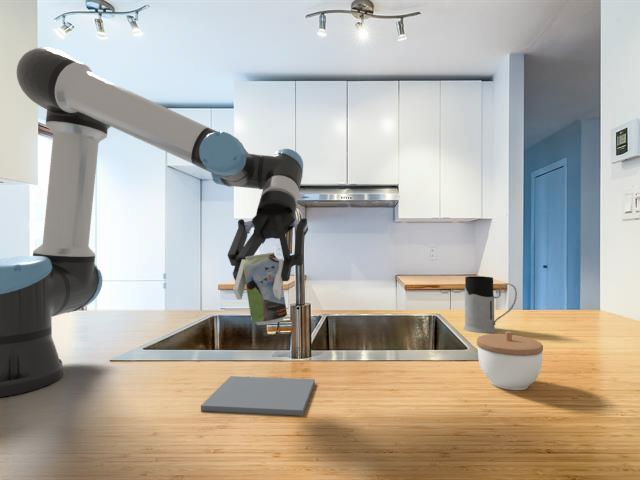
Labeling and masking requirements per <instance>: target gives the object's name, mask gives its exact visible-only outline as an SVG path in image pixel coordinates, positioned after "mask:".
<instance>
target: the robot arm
mask: <svg viewBox="0 0 640 480" xmlns="http://www.w3.org/2000/svg"><path fill="white" fill-rule="evenodd" d="M16 79H17V83H18V85H19V86H20V89H21V91H23V93H24V94H25V95H26V97H27V98H28V99H30V100H31V101H32V102H33V103H35V104H36V105H38V107H39V106H40V107H41V108H43V109H45V110H46V118H45V126H46V127H47V129H48V130H49V131H51V133H52V134H53V136H52V143H51V144H52V145H51V155H50V164H49V176H48V185H47V194H46V206H45V207H46V208H45V217H44V228H43V237H42V243H41V245H40V246H38V247H37V248H35V249H33V252H32V255H27V256H14V257H4V258H0V398H1V397H2V398H3V397H9V396H14V395H19V394H23V393H24V394H25V393H27V392H28V393H29V392H31V391H35V390H37V389H41V388H44V387H47V386H49V385H51V384H53V383H55V382H58V381H59V380H60V379H62V377H63V376H64V373H63V372H64V369H63V368H64V367H63V364H64V363H63V361H62V360H61V359H60V358H59V354H58V351H57V347H56V345H55V342H54V339H53V334H52V331H53V330H52V329H53V328H52V327H53V326H52V325H53V323H52V319H53V317H56V316H59V315H63V314H68V313H72V312H76V311H79V310H80V309H82V308H85V307H86V306H88V305H90V304H92V302H94V301H95V299H96V298H98V296H99V294H100V292H101V290H102V287H103V275H102V272H101V269H99V268H98V266H97V265H96V252H94V251H93V250H92V249H91V248H90V247H89V243H90V235H91V233H90V232H91V224H92V223H91V222H92V212H93V202H94V194H95V193H94V192H95V182H96V172H97V161H98V152H99V143H100V142H101V141H103V140H104V139H106V138H107V137H108V129H110V128H114V129H116V130H118V131H120V132H123V133H124V134H127V135H129V136H131V137H134V139H138V140H139V141H142V142H144V143H146V144H149V145H151V146H153V147H156V148H157V149H159V150H161V151H164V152H166V153H168V154H171V155H173V156H175V157H177V158H180V159H182V160H184V161H186V162H189V163H191V164H192V165H194V166H196V167H199V168H200V169H202V170H205V171H206V172H209V173H210V174H211V178H212V181H213V182H214V183H215V184H216V185H222V186H226V187H228V188H229V187H237V188H246V189H247V188H248V189H257V190H262V192H261V194H260V199H259V202H258V206H257V208H256V213H255V216H253V218H252V219H251V220H249V221H245V220H244V219H242V218H241V219H239V220H238V221H237V230H236V233H235V235H234V237H233V240H232V242H231V245H230V248H229V250H228V253H227V258H228V260H229V263H230V265H231V266H232V267H233V266H234V269H233V271H232V277H233V279H234V285H233V289H232V291H233V293H234V295H235V298H236V299H237V300H242V299H243V295H244V292H245V289H246V281H245V275H244V268H243V265H244V262H245V260H246V258H245V257H248V256H254V255H256V253H257V252H258V250H259V248H260V247H261V245H264V243H265V242H266V241H267V240H269V239H275V240H276V239H279V242H280V247H281V248H280V249H281V251H282V252H281V253H282V256H283V257H282V258H280V259H279V258H278V260H279V268H278V271H277V274H276V276H275V280H274V285H273V293H274V296H275V297H276V298H278V299H279V300H280V297H281V288H282V286H283V287H284V282H288V281H290V278H291V271H292V268H293V267H294V266H298V267H299V266H302V265H303V263H304V252H305V250H304V249H305V238H306V237H305V236H306V234H307V233H308V231H309V226H308V219H307V218H305V217H304V218H301V219H300V220H298V219H296V218H295V217H296V210H297V205H298V204H297V203H298V199H299V194H300V189H301V184H302V179H303V175H304V174H303V173H304V162H303V159H302V156H301V155H300V154H299V153H298V152H297V151H295V150H294V149H290V148H281V149H279V150H276V151H275V152H274V153H273V155H263V154H262V155H261V154H254V153H249V152H248V151H247V150H246V149H245V147H244V145H243V142H241V141H240V140H239V139H238V137H236V136H233V135H232V134H231V133H228V132H225V131H218V130H215V129H212V128H211V127H209V126H206V125H204V124H202V123H200V122H198V121H195V120H193V119H191V118H189V117H187V116H185V115H182V114H180V113H178V112H176V111H173V110H172V109H169V108H167V107H165V106H163V105H160V104H158V103H157V102H154V101H152V100H150V99H147V98H145V97H144V96H141V95H139V94H138V93H134V92H132V91H130V90H128V89H126V88H123V87H122V86H119V85H117V84H115V83H114V82H111V81H109V80H106V79H104V78H102V77H100V76H98V75H97V74H95V73H93V71H92V70H91V68H90V67H89V66H88V65H86V64H85V63H83V62H80V61H79V60H76V59H74V58H73V57H72V56H70V55H68V54H66V53H65V52H63V51H62V50H59V49H55V48H52V47H35V48H33V49H30V50H28V51H27V52H25V53H24V54H23V55H22V56H21V57H20V59H19V61H18V64H17V66H16ZM252 228H254V229H253V232H252V234H251V236H250V237H249V239H247V238H248V234H250V233H251V229H252ZM292 229H295V231H296V232H295V239H294V240H295V243H294V254H291V253H290V249H289V244H288V240H287V234H288V233H289V232H291V231H292Z"/></svg>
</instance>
